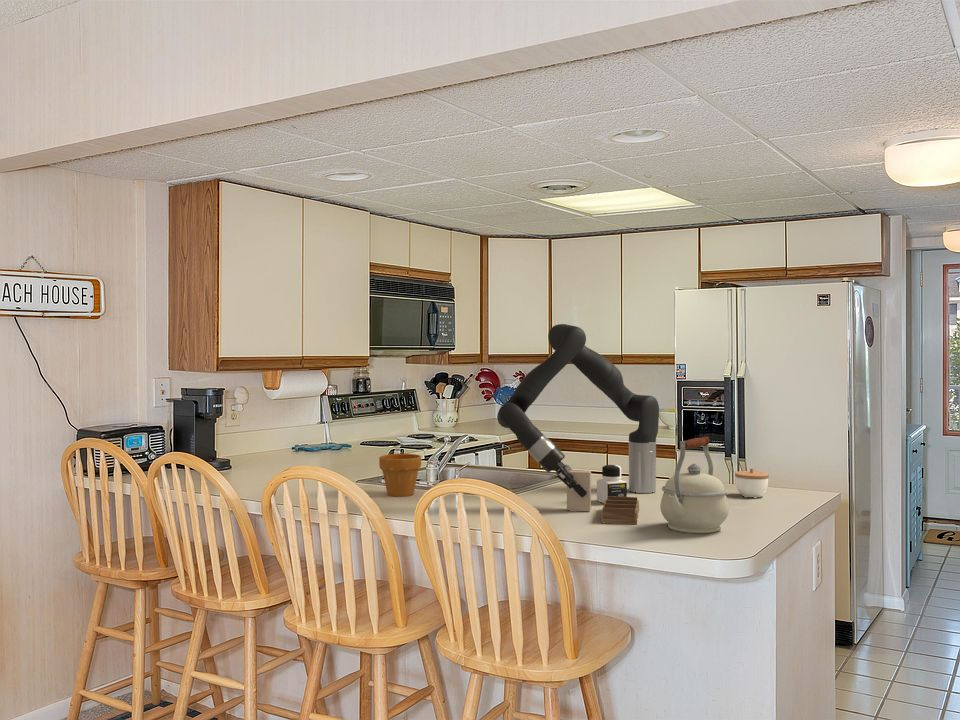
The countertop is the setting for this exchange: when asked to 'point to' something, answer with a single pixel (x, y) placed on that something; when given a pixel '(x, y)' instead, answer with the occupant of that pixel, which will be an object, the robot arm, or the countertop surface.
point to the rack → (620, 510)
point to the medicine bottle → (611, 483)
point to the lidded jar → (751, 483)
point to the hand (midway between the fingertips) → (585, 494)
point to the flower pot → (400, 473)
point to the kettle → (694, 495)
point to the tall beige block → (574, 498)
